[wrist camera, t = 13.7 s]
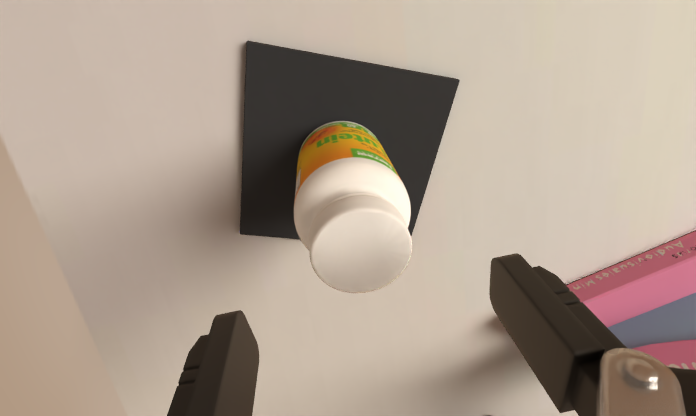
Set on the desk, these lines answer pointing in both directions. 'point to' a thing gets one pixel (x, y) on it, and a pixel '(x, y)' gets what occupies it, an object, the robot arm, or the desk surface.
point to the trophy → (649, 301)
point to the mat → (324, 107)
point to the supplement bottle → (351, 209)
